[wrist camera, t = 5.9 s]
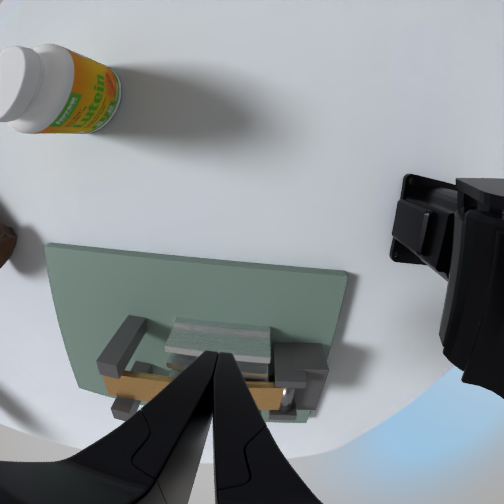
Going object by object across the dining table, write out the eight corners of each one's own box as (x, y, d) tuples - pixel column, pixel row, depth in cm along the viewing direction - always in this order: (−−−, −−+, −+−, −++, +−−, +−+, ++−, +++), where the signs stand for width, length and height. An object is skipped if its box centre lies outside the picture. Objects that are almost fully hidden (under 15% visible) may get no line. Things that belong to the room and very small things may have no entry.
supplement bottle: (108, 141, 18) (14, 145, 9) (57, 126, 18) (-36, 128, 9) (134, 71, 17) (52, 31, 8) (79, 62, 16) (-6, 34, 7)
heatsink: (270, 326, 22) (271, 355, 18) (260, 391, 24) (260, 420, 21) (176, 316, 22) (164, 342, 18) (180, 382, 24) (172, 409, 21)
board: (344, 270, 21) (348, 276, 20) (305, 415, 26) (306, 422, 25) (50, 242, 21) (43, 246, 20) (82, 382, 26) (79, 387, 25)
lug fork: (145, 317, 22) (116, 365, 16) (152, 373, 24) (132, 422, 18) (128, 314, 22) (96, 360, 16) (137, 370, 24) (114, 418, 18)
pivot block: (321, 343, 22) (331, 381, 18) (310, 383, 23) (317, 421, 19) (274, 340, 22) (276, 379, 18) (267, 381, 23) (268, 420, 19)
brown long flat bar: (295, 377, 19) (297, 387, 18) (288, 403, 20) (290, 413, 19) (104, 362, 18) (100, 371, 17) (112, 389, 19) (108, 398, 18)
